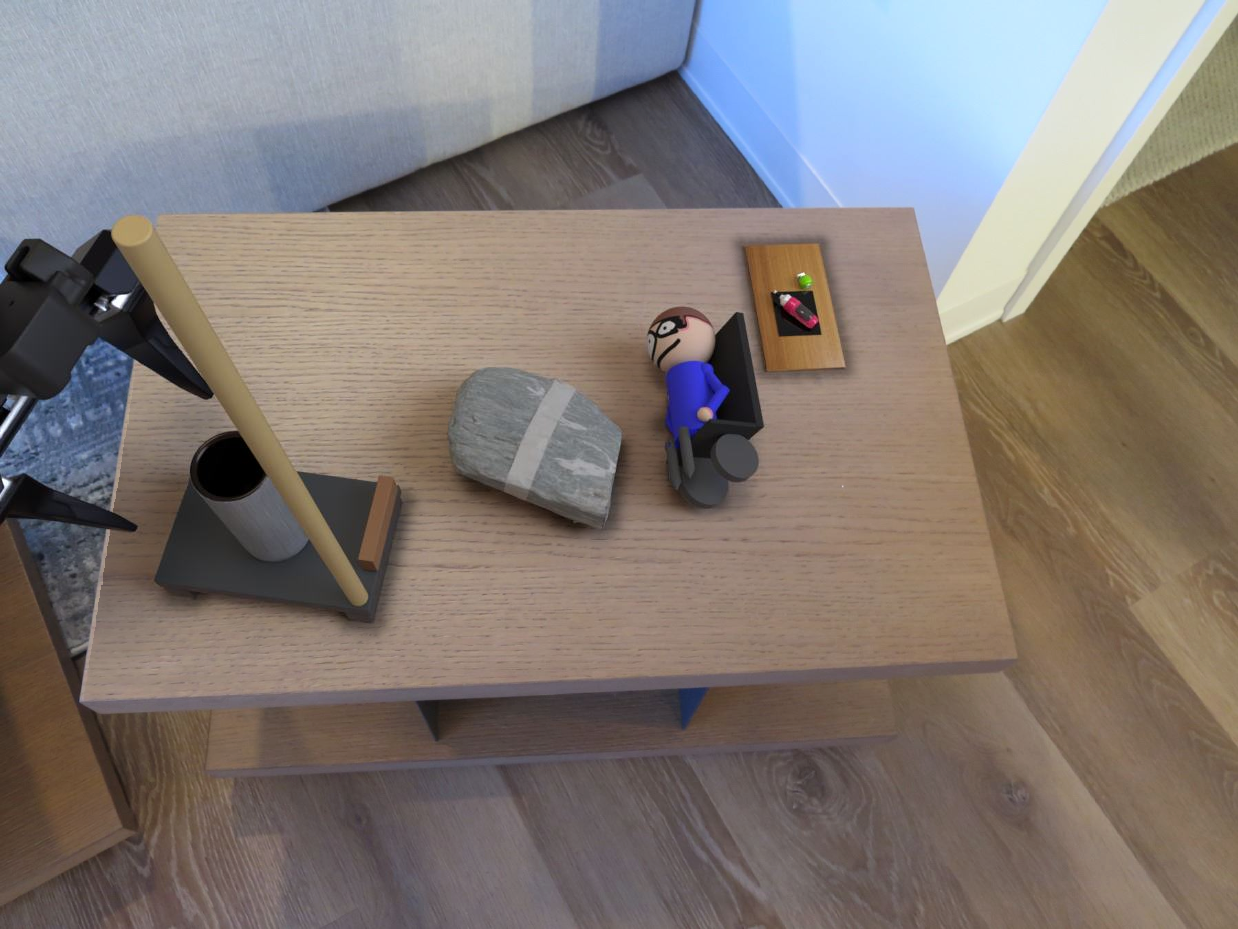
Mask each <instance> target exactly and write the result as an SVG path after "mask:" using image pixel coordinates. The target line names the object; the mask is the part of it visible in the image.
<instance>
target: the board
mask: <svg viewBox="0 0 1238 929" xmlns="http://www.w3.org/2000/svg"><path fill="white" fill-rule="evenodd" d="M744 250H745V255H746V260H747V266H748V270H749V272H748V273H749V277H750V282H751V288H752V294H753V300H754V305H755V306H754V307H755V311H756V317H757V322H758V328H759V333H760V340H761V345H762V351H763V352H762V353H763V356H764V362H765V369H766V372H767V373H773V372H791V371H793V372H795V371H816V370H838V369H846V367H847V366H846V361H845V358H844V353H843V348H842V343H841V339H840V338H841V337H840V334H839V329H838V324H837V319H836V316H835V311H834V307H833V302H832V297H831V292H830V288H829V283H828V279H827V274H826V270H825V264H824V260H823V256H822V251H821V246H820V243H791V244H789V243H788V244H787V243H786V244H757V245H745V246H744Z"/></svg>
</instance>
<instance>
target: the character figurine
mask: <svg viewBox="0 0 1238 929" xmlns="http://www.w3.org/2000/svg"><path fill="white" fill-rule="evenodd" d="M646 335H647V336H646V349H647V353H648V356H649V359H650V360H651V362H652V363H653V364H654V365H655V366H656V367H657V369H660V370H661V371H663V372H664V373H666V374H665V383H666V394H667V398H668V404H667V411H666V416H665V417H666V418H665V420H664V425H665V426H666V427H667V429H668V430H669V432H670V433H671V435H672V437H673V439H668V440H666V441H665V442H664V451H665V456H666V460H665V463H666V465H667V470H668V471H667V472H668V478H669V483H670V485H671V486H672V487H673V488H674V489H675V490H676V491H678V492H679V494H680V495H681V496H682V498H683V499H684V500H685V501H686V502H687V503H688V504H689V505H691V506H693V507H695V508H696V509H702V510H709V509H714V508H715V507H716V506H718V505H719V504H720V503H721V502H723V501H724V500H725V499H726V497H727V496H728V493H729V488H730V485H729V482H732V483H743V482H746V481H747V480H748V479H750V478H751V477H752V476H754V475H755V474H756V473H757V471H758V468H759V464H760V459H759V454H758V452H757V450H756V448H755V446H754V445H753V444H752V443H751V441H750V440H751V439H752V438H753V437H754V436H756V434H758V433H759V432H760V431H761V430H763V429H764V428H765V423H764V418H763V413H762V407H761V402H760V396H759V390H758V387H757V385H758V384H757V381H756V380H757V379H756V375H755V369H754V363H753V358H752V352H751V347H750V342H749V341H750V340H749V337H748V330H747V325H746V319H745V314H744V312H740V311H736V312H734V314H732V315H731V317H730V318H729V319H728V320H727V321H726V322H725V323H724V324H723V326H721V327H720V329H718V331H717V332H716V333H715V329H714V326H713V325H712V323H711V321H710V320H709V318H708V317H707V316H706V315H705V314H704V313H702V312H701V311H700V310H697V309H696V308H693V307H690V306H675V307H671V308H667V309H665V310H664V311H662V312H661V313H659V314H658V315H657V316H656V317H655V318H654V319H653V321H652V323H651V324H650V326H649V328H648V331H647V334H646Z"/></svg>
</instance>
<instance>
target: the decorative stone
mask: <svg viewBox="0 0 1238 929" xmlns="http://www.w3.org/2000/svg"><path fill="white" fill-rule="evenodd" d="M446 434H447V438H448V439H447V440H448V444H449V449H448V451H449V454H450V456H451V462H452V465H453V467H454V469H455V470H456V472H457V473H458V474H460V475H462V476H464V477H466V478H469V479H472V480H474V481H477V482H479V483H481V484H483V485H485V486H489V487H491V488H493V489H495V490H498V491H501V492H503V493H504V494H505V493H506V494H508V495H511V496H513V497H515V498H517V499H519V500H522V501H525V502H528V503H531V504H533V505H535V506H538V507H541V508H543V509H546V510H548V511H551V512H552V513H554V514H556V515H559V516H562V517H564V518H565V520H566V519H567V520H568V521H571V520H573V521H572V523H574V524H577V523H579V524H584V525H588V526H591V527H592V528H596V529H600V530H602V531H603V530H605V525H606V522H607V520H608V517H609V514H610V512H609V511H610V509H611V505H612V491H613V485H614V480H615V476H616V475H615V474H616V470H617V465H618V459H619V456H620V451H621V445H622V440H623V430H622V429H621V428H620V427H619V425H617V424H616V423H615V422H613V421H612V420H611V419H610V418H609V417H608V416H607V415H606V414H604V413H603V411H602V410H601V409H600V407H599V406H598V405H597V404H595V403H594V402H593V401H591V400H590V399H589V398H588V397H587V396H585V395H584V393H582V392H580V391H579V390H578V389H577V388H576V387H575V386H572V385H571V384H568V383H566V382H565V381H562V380H561V379H559V378H557V377H553V378H550V377H546V376H543V375H539V374H535V373H532V372H528V371H525V370H522V369H518V368H513V367H507V366H506V367H504V366H490V367H489V366H487V367H483V368H480V369H478V370H477V369H476V370H475V371H473V372H472V373H471V375H470V376H469V377H467V378H466V379H465V380H464V381H463V382H462V383H461V384H460V385H459V388H458V389H457V391H456V395H455V401H454V406H453V408H452V412H451V414H450V417H449V420H448V425H447V433H446Z"/></svg>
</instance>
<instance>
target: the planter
mask: <svg viewBox="0 0 1238 929" xmlns="http://www.w3.org/2000/svg"><path fill="white" fill-rule="evenodd" d="M189 478H190V479H191V482H192V485H193V486H194V488H195V489H196V491H197V492H198V493H199V494H200V496H201V497H202V498H203V499H204V500H205V502H206V503H207V504H208V505H209V506H210V508H211V509H212V510H213V511H214V512H215V513H216V515H217V516H218V517H219V518H220V519H221V521H222V522H223V523H224V524H225V525H226V526H227V528H228V529H229V530H230V531H231V532H232V534H233V535H234V536H235V537H236V538H237V539H238V541H239V542H240V543H241V544H242V545H243V547H244V548H245V549H246V550H247V551H248V552H249V553H250V554H251V555H253V556H254V557H255V558H257V559H260V560H262V561H267V562H279V561H283V560H286V559H289V558H291V557H293V556H294V555H296V554H297V553H298V552H300V551H301V550H302V549H303V548H304V546H305V545H306V543H307V542H308V540H309V538H308V537H307V535H306V534H305V532H304V531H303V529H302V528H301V526H300V525H299V523H298V521H297V520H296V518H295V517H294V515H293V514H292V512H291V511H290V509H289V508H288V506H287V505H286V503H285V502H284V500H283V499H282V497H281V496H280V494H279V493H278V491H277V489H276V488H275V486H274V485H273V483H272V482H271V480H270V479H269V477H268V476H267V474H266V473H265V471H264V470H263V468H262V467H261V465H260V464H259V462H258V460H257V459H256V457H255V456H254V454H253V453H252V451H251V450H250V448H249V447H248V445H247V444H246V442H245V441H244V439H243V438H242V436H241V435H240V433H239V431H238V430H228V431H224V432H219V433H217V434H215V435H213V436H211V437H210V438H208V439H207V440H205V441H204V442H203V443H201V445H200V446H198V448H197V450H196V451H195V452H194V454H193V456H192V458H191V461H190V464H189Z"/></svg>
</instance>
